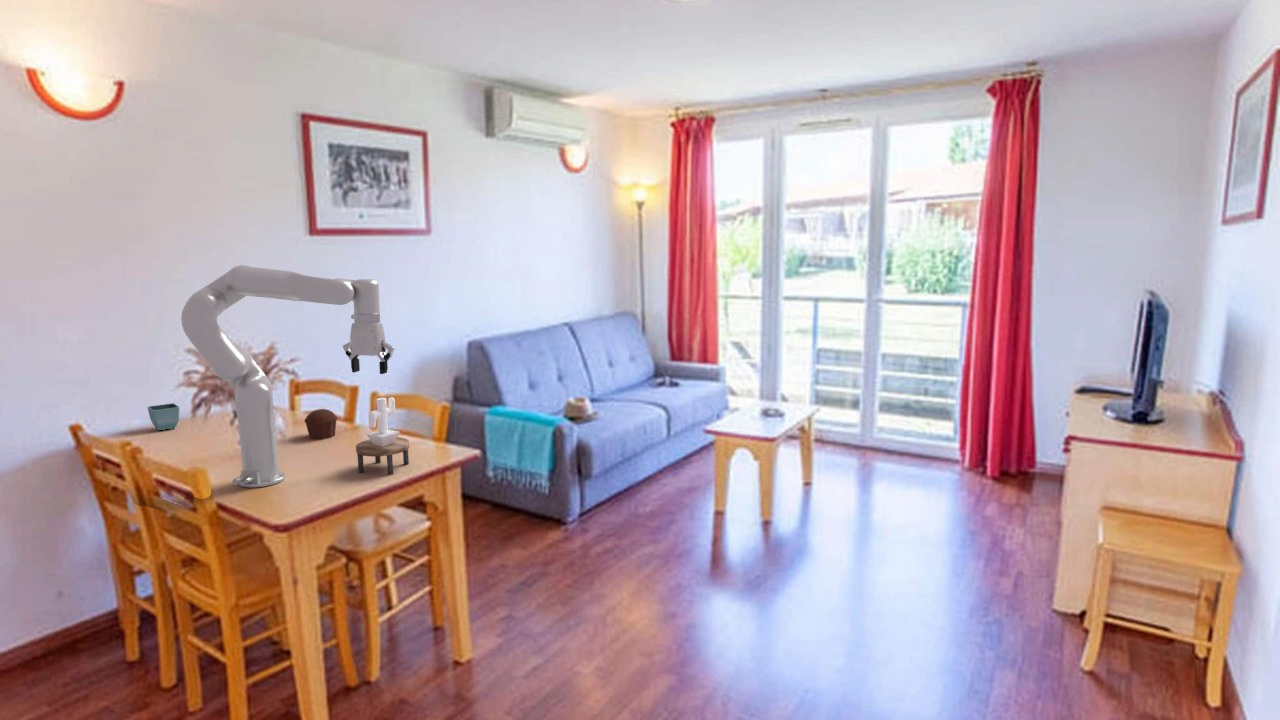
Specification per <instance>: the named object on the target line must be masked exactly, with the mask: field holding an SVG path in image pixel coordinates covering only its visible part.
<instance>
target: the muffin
mask: <svg viewBox="0 0 1280 720" xmlns="http://www.w3.org/2000/svg"><path fill="white" fill-rule="evenodd" d="M337 420H338V416H337V415H336V414H335V413H334V412H333V411H332V410H331V409H326V408H319V409H315V410H313V411H311V412H310V413H308V414H307V415H306V416H305V418H304V420H303V421H304V423H305V425H306V429H307V433H308V437H309V439H310V440H315V441H316V440H327V439H331V438H333V437H335V436H336V429H337V427H336V426H337Z"/></svg>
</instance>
